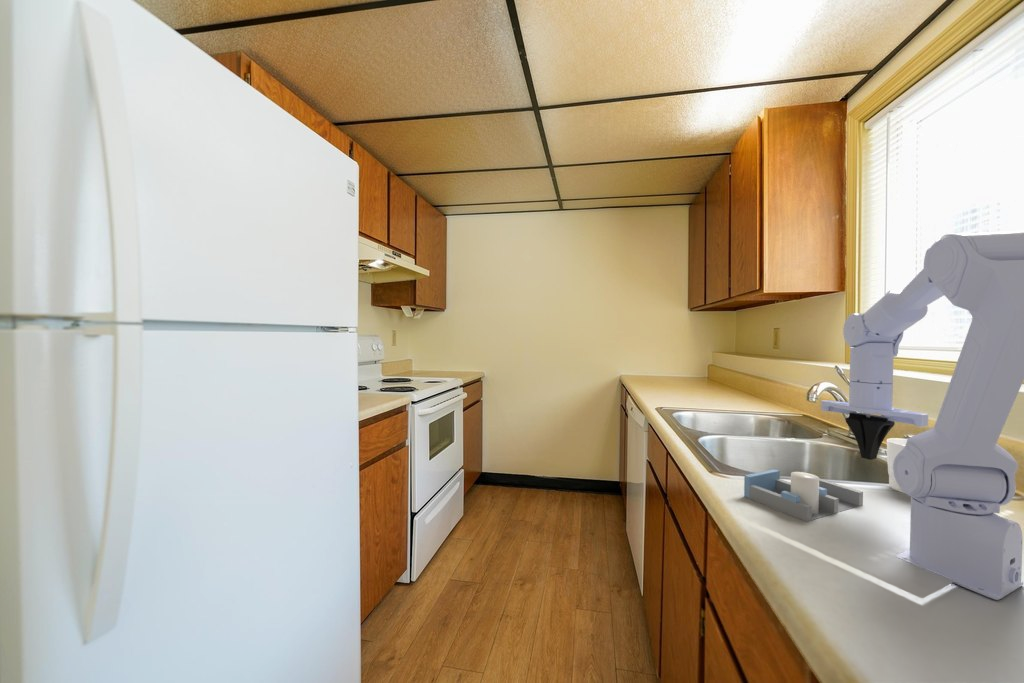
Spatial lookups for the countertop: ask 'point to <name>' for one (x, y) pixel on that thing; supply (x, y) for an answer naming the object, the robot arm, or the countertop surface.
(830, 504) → the grey and blue rack
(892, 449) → the white cup
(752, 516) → the countertop surface
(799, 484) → the white rounded cylinder
